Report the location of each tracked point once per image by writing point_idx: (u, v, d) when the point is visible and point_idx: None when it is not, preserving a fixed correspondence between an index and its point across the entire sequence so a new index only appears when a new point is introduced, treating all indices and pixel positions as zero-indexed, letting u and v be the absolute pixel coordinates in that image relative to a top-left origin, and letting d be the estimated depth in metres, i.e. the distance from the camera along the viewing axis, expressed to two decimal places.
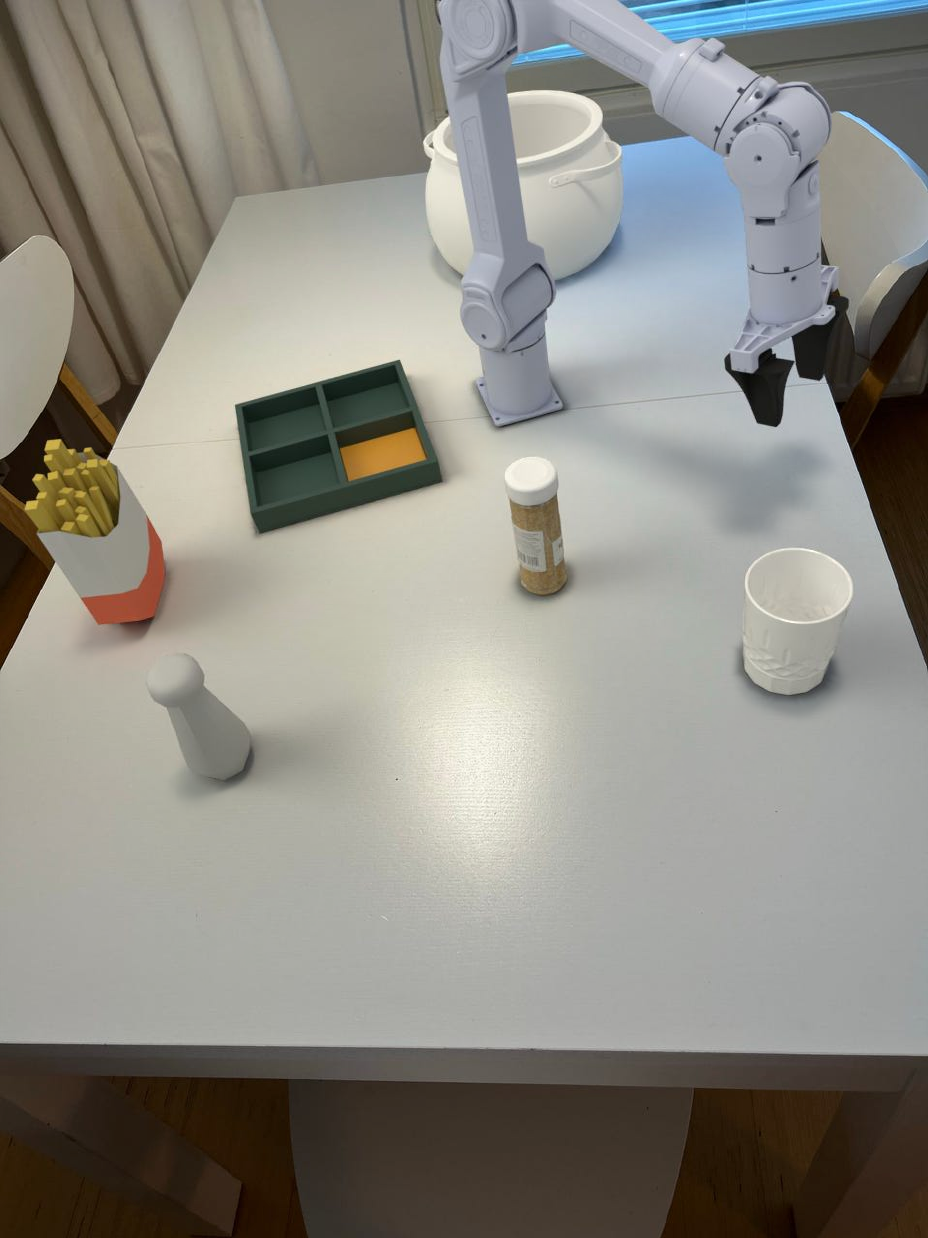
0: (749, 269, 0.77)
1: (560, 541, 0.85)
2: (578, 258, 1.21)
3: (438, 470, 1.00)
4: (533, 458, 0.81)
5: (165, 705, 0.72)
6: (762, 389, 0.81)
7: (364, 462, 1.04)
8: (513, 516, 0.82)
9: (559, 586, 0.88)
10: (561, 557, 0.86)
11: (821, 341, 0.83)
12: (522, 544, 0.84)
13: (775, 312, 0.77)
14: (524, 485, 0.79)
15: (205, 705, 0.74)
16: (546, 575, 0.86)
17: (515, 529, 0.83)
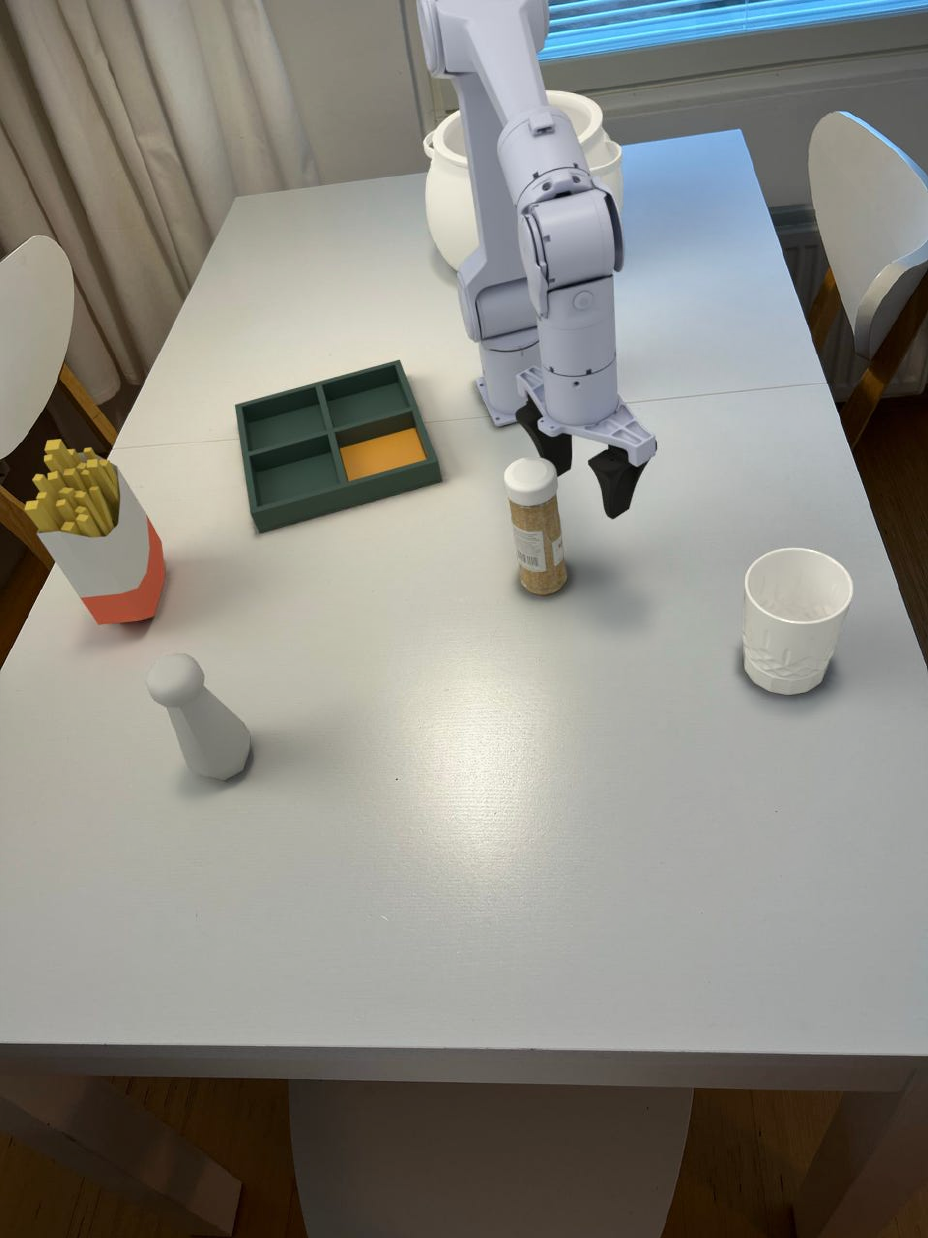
0: None
1: (560, 541, 0.85)
2: None
3: (438, 470, 1.00)
4: (532, 458, 0.81)
5: (165, 705, 0.72)
6: None
7: (364, 462, 1.04)
8: (513, 516, 0.82)
9: (559, 586, 0.88)
10: (561, 557, 0.86)
11: None
12: (522, 544, 0.84)
13: None
14: (524, 486, 0.79)
15: (205, 705, 0.74)
16: (546, 575, 0.86)
17: (515, 529, 0.83)
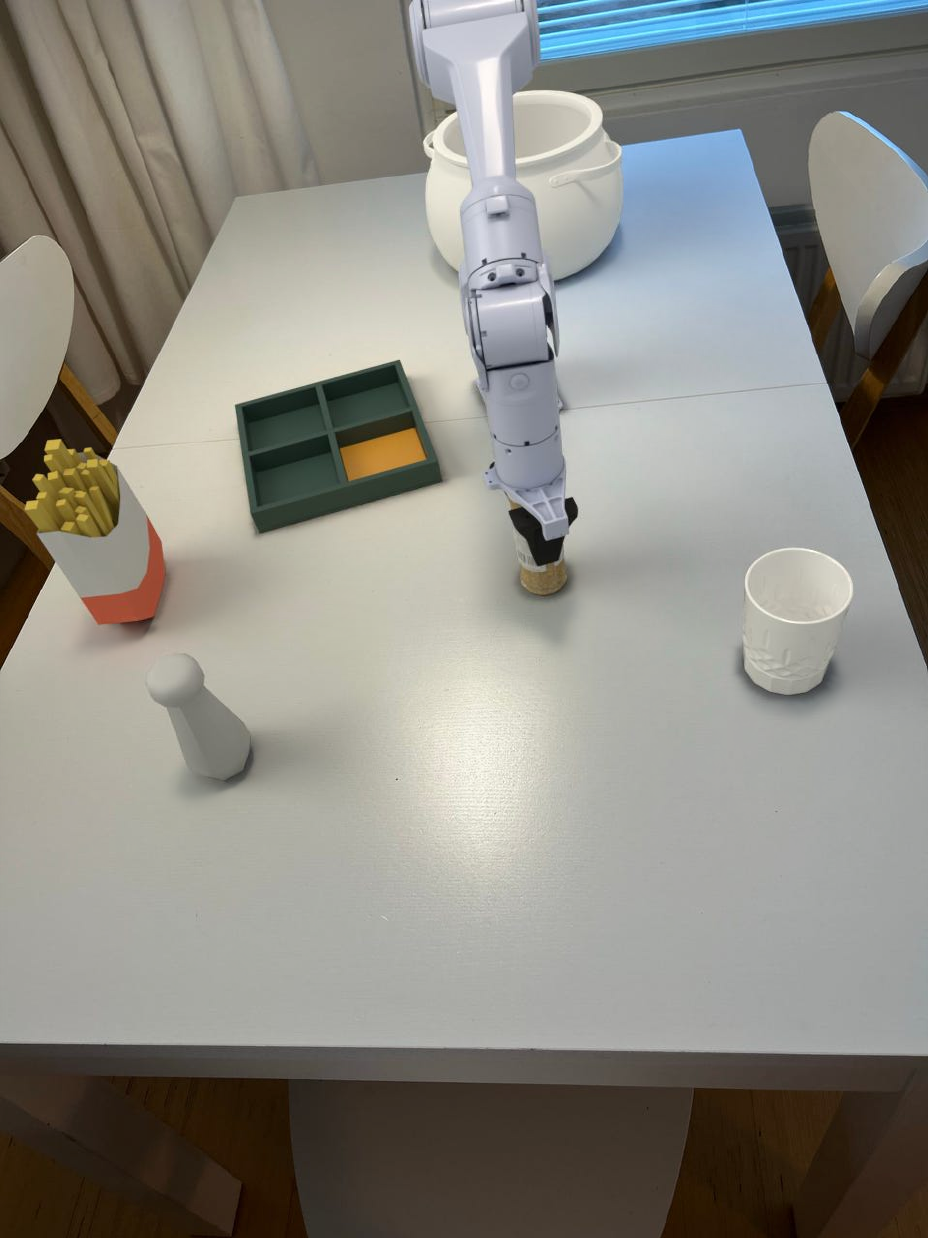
0: None
1: None
2: (578, 258, 1.21)
3: (438, 470, 1.00)
4: None
5: (165, 705, 0.72)
6: None
7: (364, 462, 1.04)
8: None
9: (559, 586, 0.88)
10: (561, 557, 0.86)
11: None
12: (522, 544, 0.84)
13: None
14: None
15: (205, 705, 0.74)
16: (546, 575, 0.86)
17: (515, 529, 0.83)
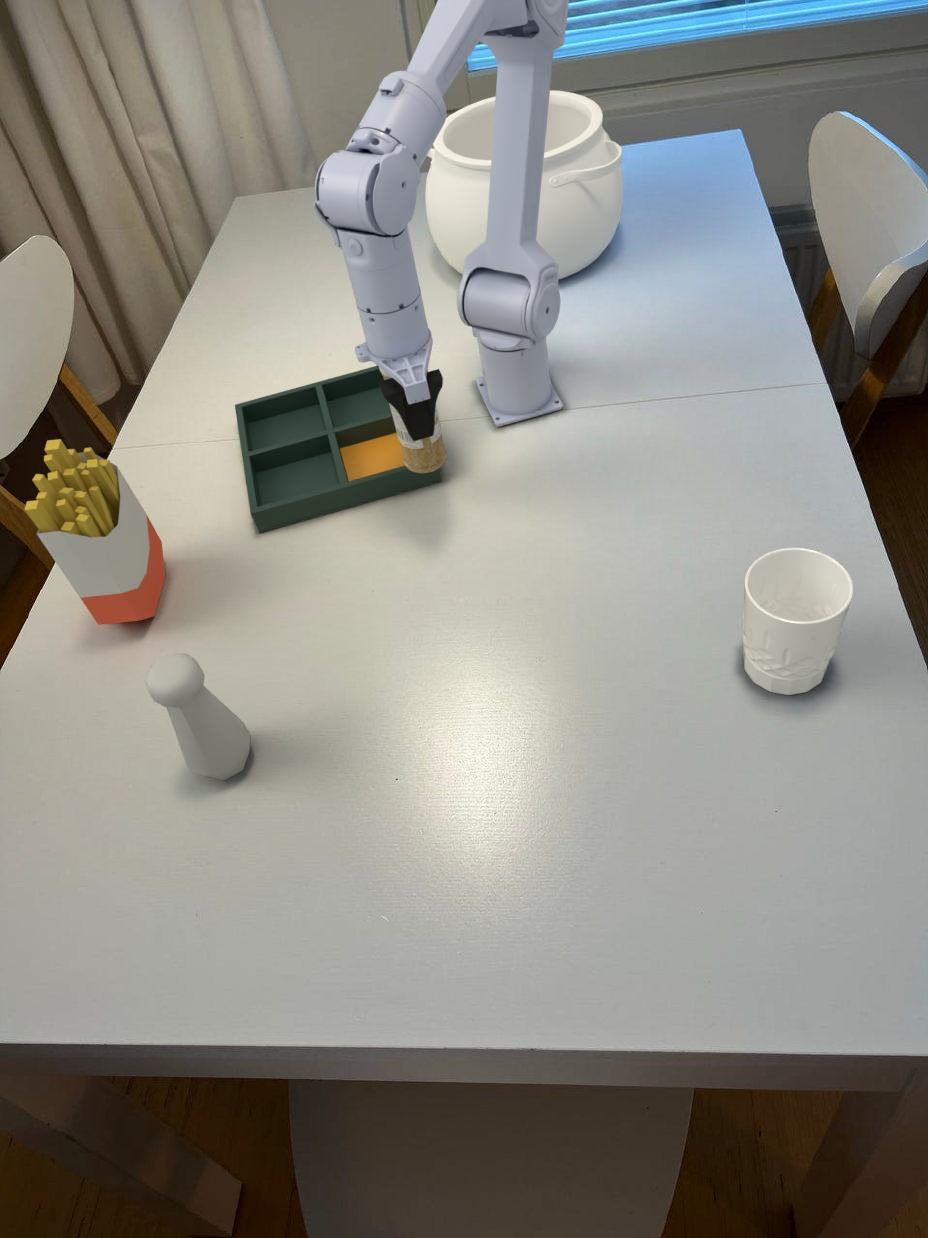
0: None
1: (435, 418, 0.90)
2: (578, 258, 1.21)
3: (438, 470, 1.00)
4: None
5: (165, 705, 0.72)
6: None
7: (364, 462, 1.04)
8: None
9: (438, 465, 0.94)
10: (437, 435, 0.92)
11: None
12: (398, 420, 0.90)
13: None
14: None
15: (205, 705, 0.74)
16: (424, 452, 0.92)
17: (391, 405, 0.89)
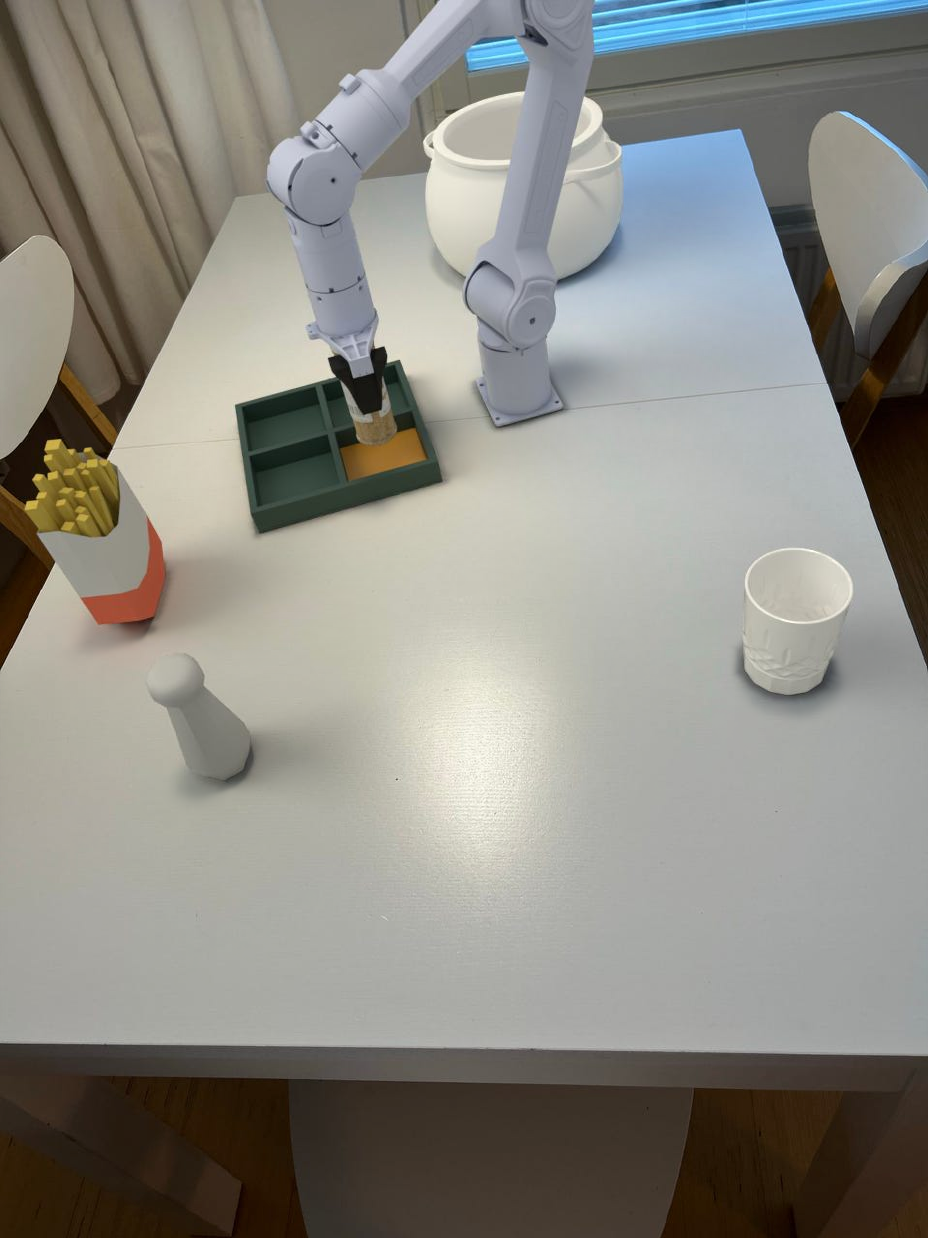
0: None
1: (383, 393, 0.96)
2: (578, 258, 1.21)
3: (438, 470, 1.00)
4: None
5: (165, 705, 0.72)
6: None
7: (364, 462, 1.04)
8: None
9: (388, 438, 1.00)
10: (386, 409, 0.97)
11: None
12: (349, 395, 0.95)
13: None
14: None
15: (205, 705, 0.74)
16: (373, 425, 0.98)
17: (341, 381, 0.95)
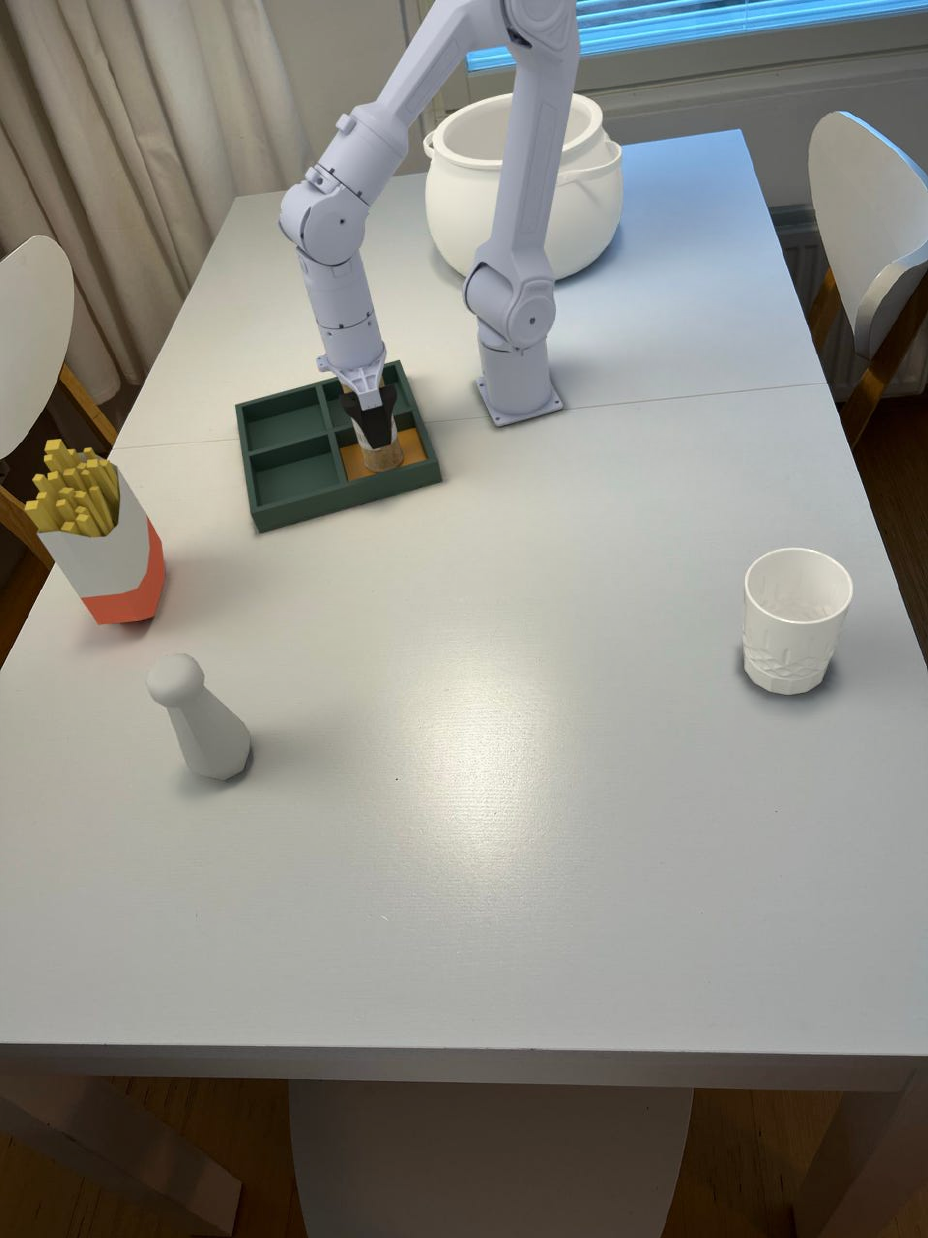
0: None
1: None
2: (578, 258, 1.21)
3: (438, 470, 1.00)
4: None
5: (165, 705, 0.72)
6: None
7: None
8: None
9: (395, 465, 1.02)
10: (393, 438, 1.00)
11: None
12: (357, 424, 0.98)
13: None
14: None
15: (205, 705, 0.74)
16: (381, 453, 1.01)
17: None
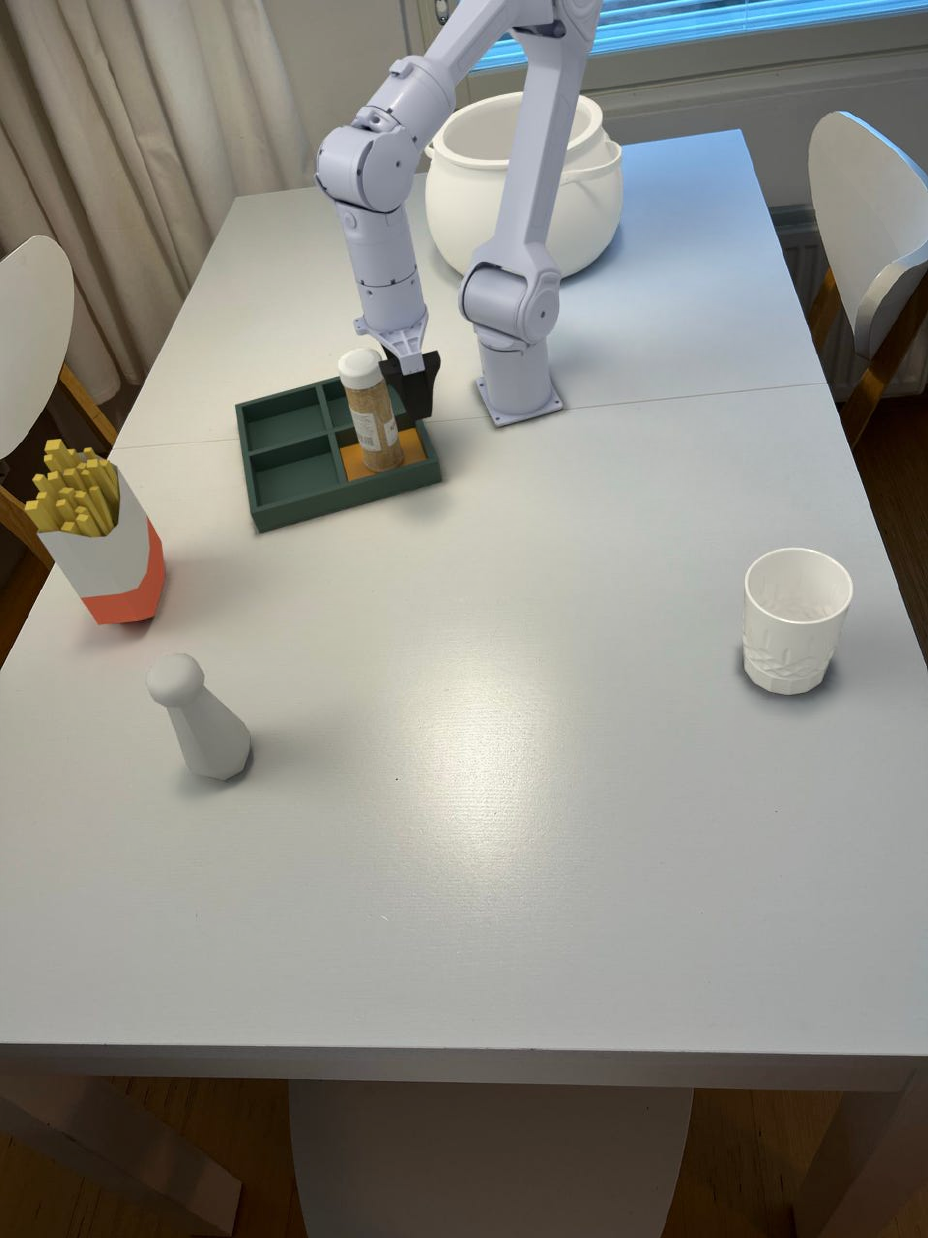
0: None
1: (392, 424, 0.99)
2: (578, 258, 1.21)
3: (438, 470, 1.00)
4: (363, 349, 0.94)
5: (165, 705, 0.72)
6: None
7: None
8: (348, 400, 0.96)
9: (395, 465, 1.02)
10: (394, 439, 1.00)
11: None
12: (358, 426, 0.98)
13: None
14: (353, 371, 0.92)
15: (205, 705, 0.74)
16: (382, 454, 1.00)
17: (351, 412, 0.97)
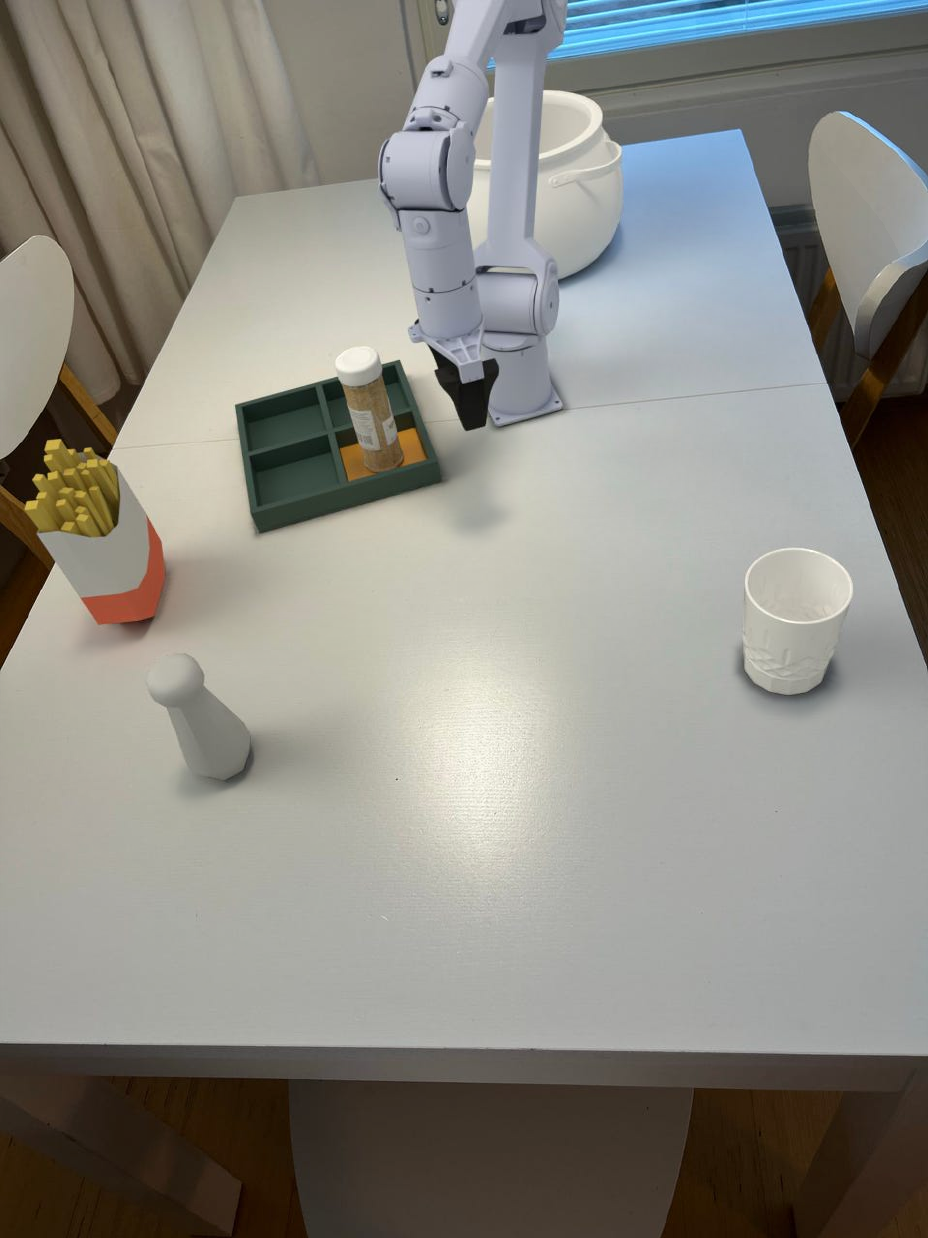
0: None
1: (390, 422, 0.99)
2: (578, 258, 1.21)
3: (438, 470, 1.00)
4: (361, 347, 0.95)
5: (165, 705, 0.72)
6: None
7: None
8: (346, 398, 0.97)
9: (395, 465, 1.02)
10: (393, 438, 1.00)
11: None
12: (357, 424, 0.98)
13: None
14: (349, 368, 0.93)
15: (205, 705, 0.74)
16: (381, 453, 1.01)
17: (350, 411, 0.98)
